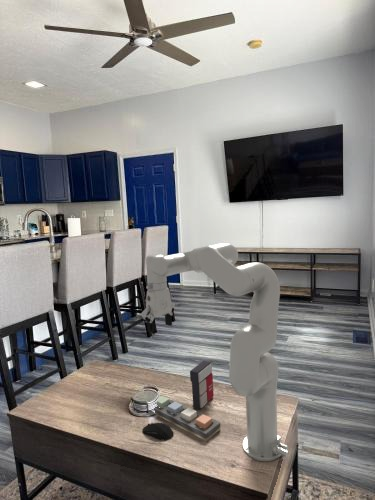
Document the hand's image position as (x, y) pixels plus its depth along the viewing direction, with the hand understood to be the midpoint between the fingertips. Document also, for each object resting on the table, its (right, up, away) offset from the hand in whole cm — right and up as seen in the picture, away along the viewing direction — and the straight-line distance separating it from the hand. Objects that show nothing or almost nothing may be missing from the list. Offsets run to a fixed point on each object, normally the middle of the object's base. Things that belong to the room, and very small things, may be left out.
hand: (160, 328), depth 141 cm
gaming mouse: (-1, -34, -16) cm, 37 cm away
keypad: (+9, -32, -10) cm, 34 cm away
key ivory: (+11, -29, -12) cm, 34 cm away
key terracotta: (+17, -30, -17) cm, 38 cm away
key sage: (+1, -29, -3) cm, 29 cm away
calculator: (+17, -30, +1) cm, 35 cm away
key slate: (+6, -29, -8) cm, 31 cm away
